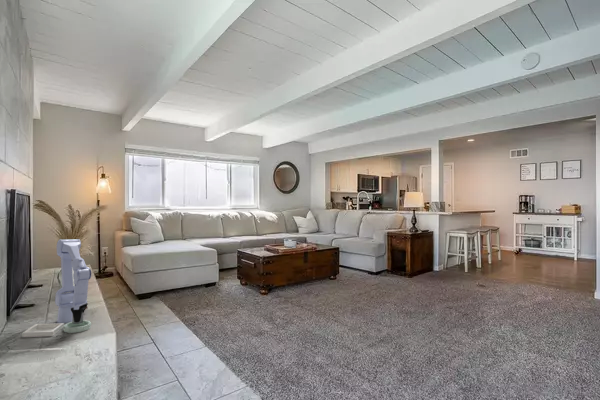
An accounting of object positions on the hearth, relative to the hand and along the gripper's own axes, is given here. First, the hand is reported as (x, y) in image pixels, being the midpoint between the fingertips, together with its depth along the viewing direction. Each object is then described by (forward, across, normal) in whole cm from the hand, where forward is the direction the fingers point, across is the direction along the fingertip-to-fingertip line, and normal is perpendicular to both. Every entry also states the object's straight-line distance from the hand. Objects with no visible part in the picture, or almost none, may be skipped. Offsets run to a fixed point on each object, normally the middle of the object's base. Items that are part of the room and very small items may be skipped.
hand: (78, 320), depth 159 cm
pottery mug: (+5, -31, -7) cm, 32 cm away
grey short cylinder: (+1, 0, 0) cm, 1 cm away
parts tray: (+5, +1, -13) cm, 14 cm away
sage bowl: (+5, 0, 0) cm, 5 cm away
